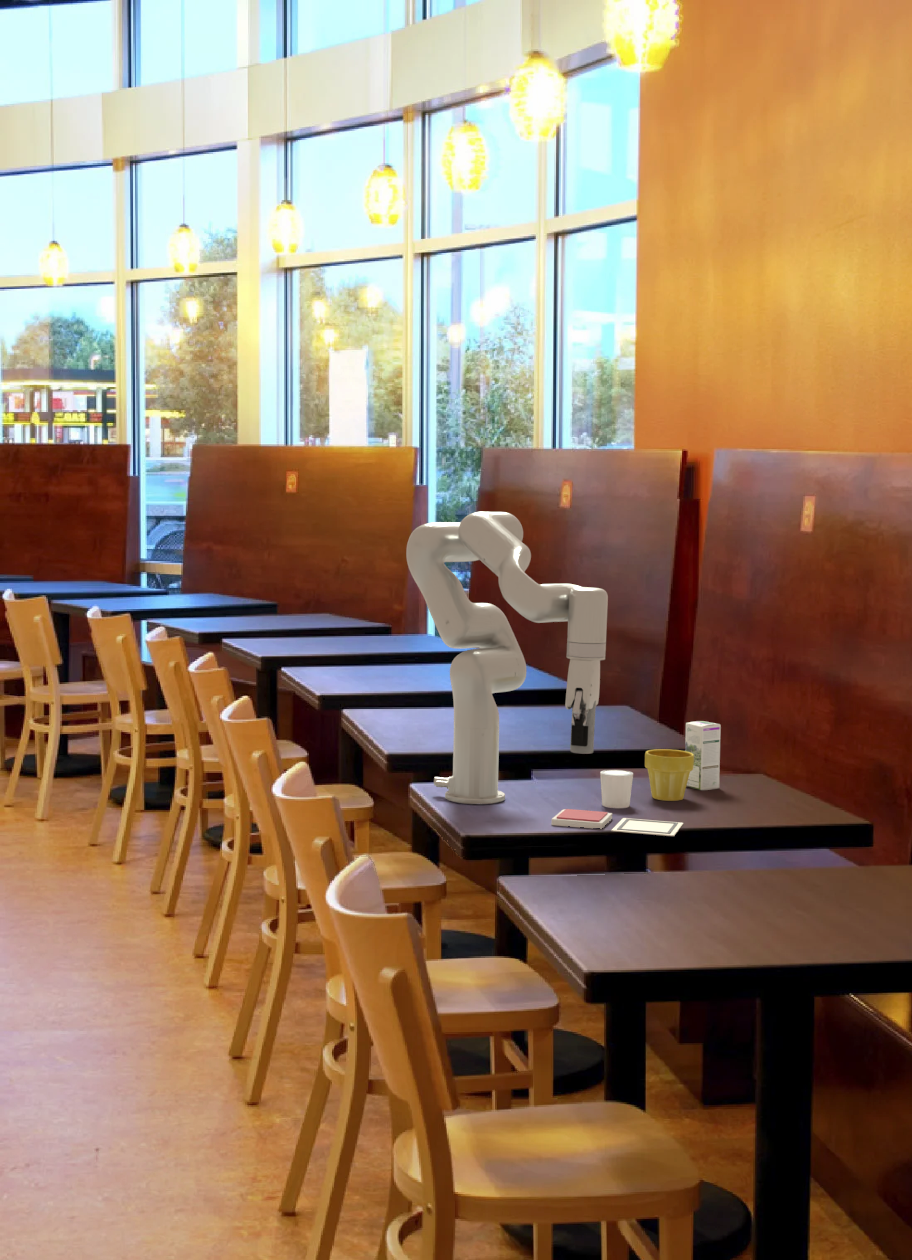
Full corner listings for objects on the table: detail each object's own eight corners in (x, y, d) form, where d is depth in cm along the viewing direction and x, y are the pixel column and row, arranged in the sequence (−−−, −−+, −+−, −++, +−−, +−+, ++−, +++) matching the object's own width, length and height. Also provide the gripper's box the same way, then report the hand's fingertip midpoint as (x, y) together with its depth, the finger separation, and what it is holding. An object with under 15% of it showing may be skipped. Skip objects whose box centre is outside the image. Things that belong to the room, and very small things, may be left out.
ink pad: (551, 825, 297) (551, 817, 297) (563, 815, 307) (563, 807, 307) (602, 829, 294) (602, 821, 294) (612, 819, 304) (612, 811, 304)
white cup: (633, 809, 314) (634, 775, 314) (600, 808, 314) (601, 774, 314) (630, 802, 321) (631, 769, 321) (598, 801, 321) (598, 768, 321)
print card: (611, 831, 293) (611, 829, 293) (623, 819, 304) (623, 817, 304) (673, 836, 289) (673, 834, 289) (683, 823, 301) (683, 822, 301)
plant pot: (702, 798, 327) (703, 753, 326) (675, 805, 319) (676, 758, 319) (661, 791, 334) (662, 747, 333) (634, 798, 326) (635, 752, 325)
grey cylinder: (576, 754, 297) (579, 701, 296) (566, 750, 301) (568, 698, 300) (597, 753, 299) (600, 701, 297) (586, 749, 303) (589, 697, 302)
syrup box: (720, 788, 339) (722, 723, 337) (699, 791, 336) (702, 725, 334) (703, 784, 343) (705, 720, 342) (682, 786, 340) (684, 721, 339)
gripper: (576, 645, 307) (572, 735, 309) (557, 654, 291) (553, 749, 293) (613, 648, 305) (609, 738, 307) (596, 656, 289) (591, 752, 290)
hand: (582, 742), depth 300 cm, fingers closed on grey cylinder, 4 cm apart
